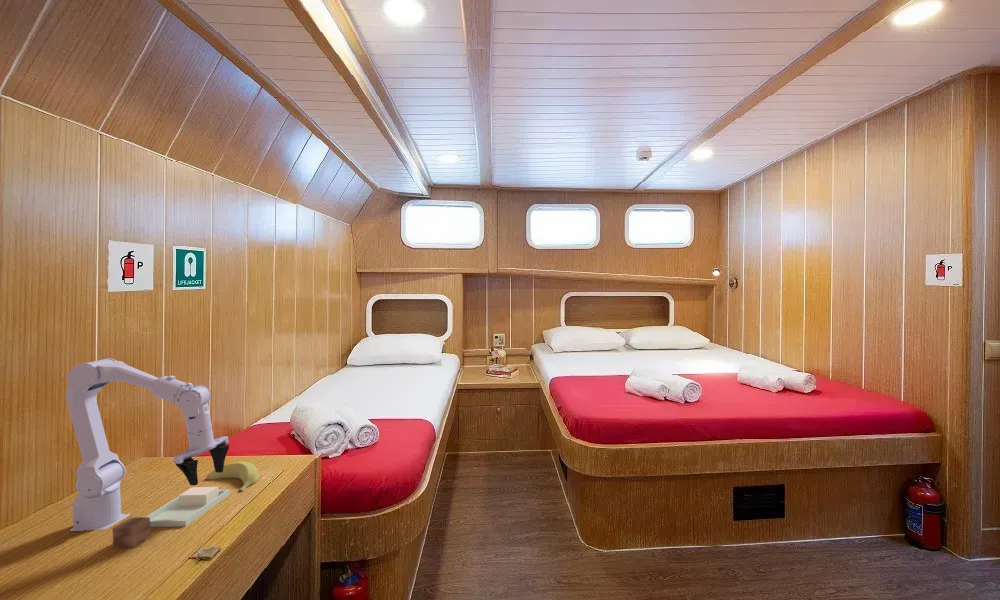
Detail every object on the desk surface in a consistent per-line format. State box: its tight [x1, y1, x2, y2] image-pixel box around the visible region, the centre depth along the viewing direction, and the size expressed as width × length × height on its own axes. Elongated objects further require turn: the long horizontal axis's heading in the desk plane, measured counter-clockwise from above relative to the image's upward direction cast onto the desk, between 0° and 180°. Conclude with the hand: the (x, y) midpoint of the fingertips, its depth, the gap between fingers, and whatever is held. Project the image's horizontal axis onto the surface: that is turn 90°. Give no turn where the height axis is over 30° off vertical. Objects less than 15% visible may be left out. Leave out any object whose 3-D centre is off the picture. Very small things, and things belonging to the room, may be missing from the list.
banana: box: [206, 461, 260, 492], centre depth 141 cm, size 14×6×20 cm
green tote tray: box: [145, 489, 231, 528], centre depth 124 cm, size 13×18×2 cm
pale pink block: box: [178, 486, 220, 506], centre depth 129 cm, size 8×5×3 cm, turn 88°
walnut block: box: [112, 516, 151, 549], centre depth 109 cm, size 5×5×5 cm
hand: (207, 478), depth 123 cm, fingers open, 7 cm apart
